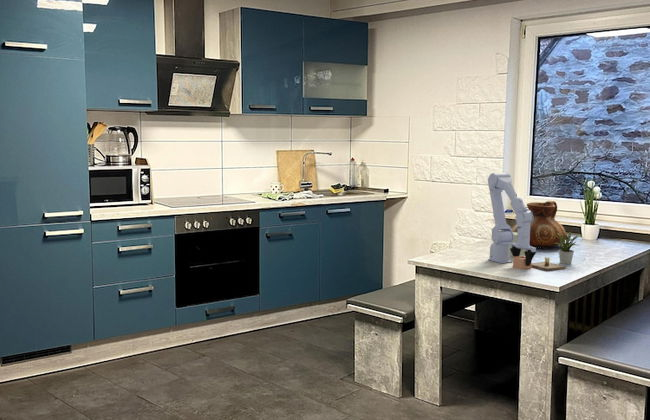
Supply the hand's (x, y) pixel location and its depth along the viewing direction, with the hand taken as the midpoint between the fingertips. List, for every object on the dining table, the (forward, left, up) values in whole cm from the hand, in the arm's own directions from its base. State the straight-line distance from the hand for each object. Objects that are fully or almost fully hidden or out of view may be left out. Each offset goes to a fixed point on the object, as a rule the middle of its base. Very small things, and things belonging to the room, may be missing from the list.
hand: (522, 264), depth 314 cm
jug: (-39, +50, -2) cm, 63 cm away
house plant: (+3, +27, -2) cm, 27 cm away
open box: (0, 0, -2) cm, 2 cm away
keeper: (+5, +11, -2) cm, 12 cm away
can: (-23, +19, -2) cm, 30 cm away
